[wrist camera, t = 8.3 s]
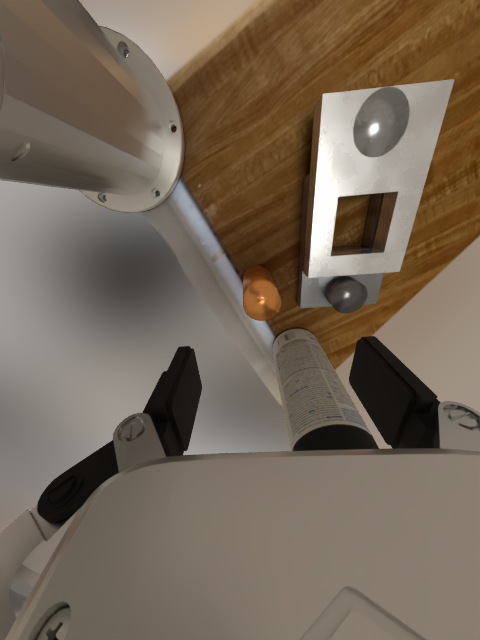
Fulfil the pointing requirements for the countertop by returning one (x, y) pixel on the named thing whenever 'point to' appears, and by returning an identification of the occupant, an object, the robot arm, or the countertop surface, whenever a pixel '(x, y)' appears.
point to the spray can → (315, 397)
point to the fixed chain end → (340, 289)
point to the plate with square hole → (371, 169)
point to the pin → (260, 293)
